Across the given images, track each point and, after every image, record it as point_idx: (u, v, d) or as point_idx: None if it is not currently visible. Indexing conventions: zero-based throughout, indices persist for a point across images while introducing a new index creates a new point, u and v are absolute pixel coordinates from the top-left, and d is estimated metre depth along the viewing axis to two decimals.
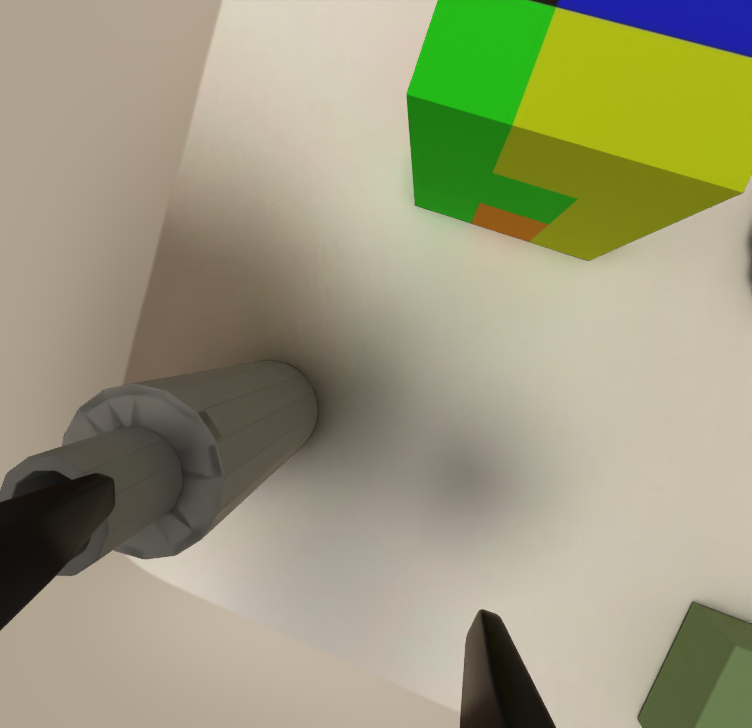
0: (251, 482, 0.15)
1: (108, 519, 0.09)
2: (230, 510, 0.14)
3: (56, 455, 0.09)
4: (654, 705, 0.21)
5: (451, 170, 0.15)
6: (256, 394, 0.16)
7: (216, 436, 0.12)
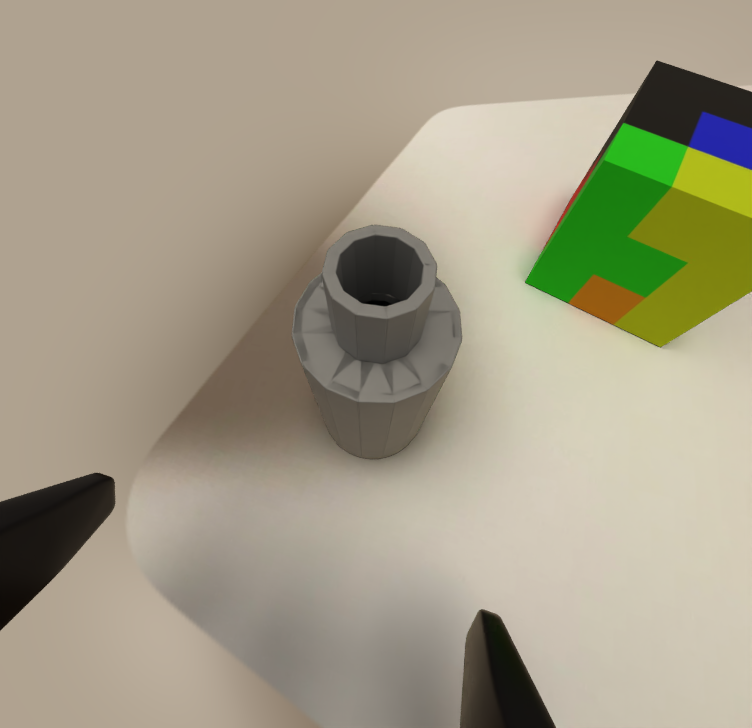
0: (440, 388, 0.15)
1: (435, 280, 0.10)
2: (426, 400, 0.14)
3: (399, 228, 0.11)
4: None
5: (591, 236, 0.22)
6: None
7: None
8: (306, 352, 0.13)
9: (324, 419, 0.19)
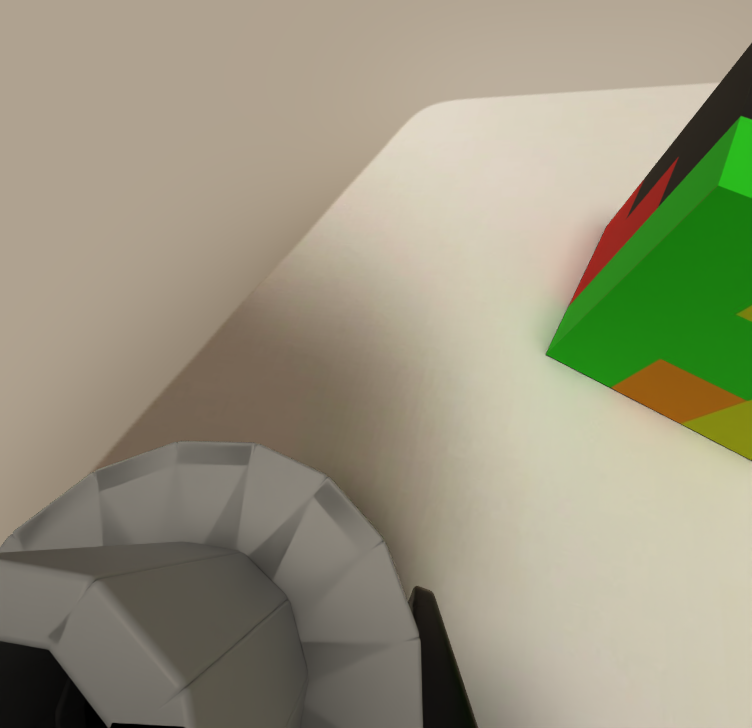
0: None
1: None
2: None
3: (89, 573, 0.02)
4: None
5: (666, 307, 0.13)
6: None
7: (411, 618, 0.05)
8: None
9: None
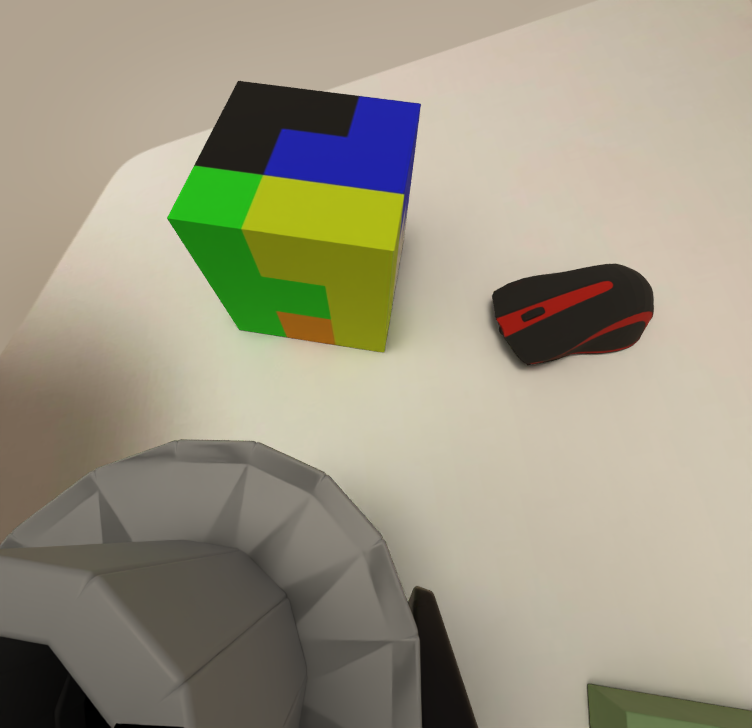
0: None
1: None
2: None
3: (88, 569, 0.02)
4: None
5: (237, 282, 0.20)
6: None
7: (410, 616, 0.05)
8: None
9: None
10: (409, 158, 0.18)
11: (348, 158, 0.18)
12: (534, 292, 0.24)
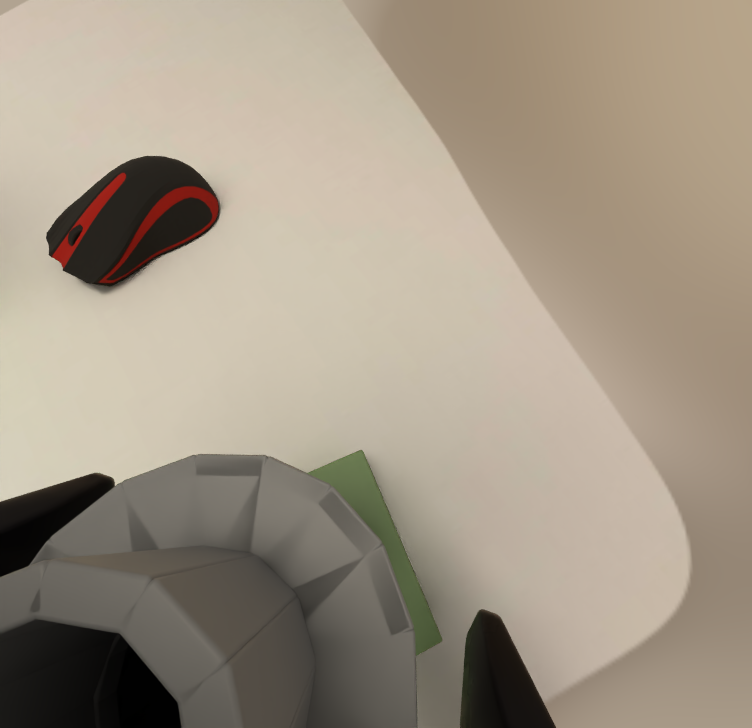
0: None
1: None
2: None
3: (147, 574, 0.03)
4: None
5: None
6: None
7: None
8: None
9: None
10: None
11: None
12: (72, 215, 0.23)
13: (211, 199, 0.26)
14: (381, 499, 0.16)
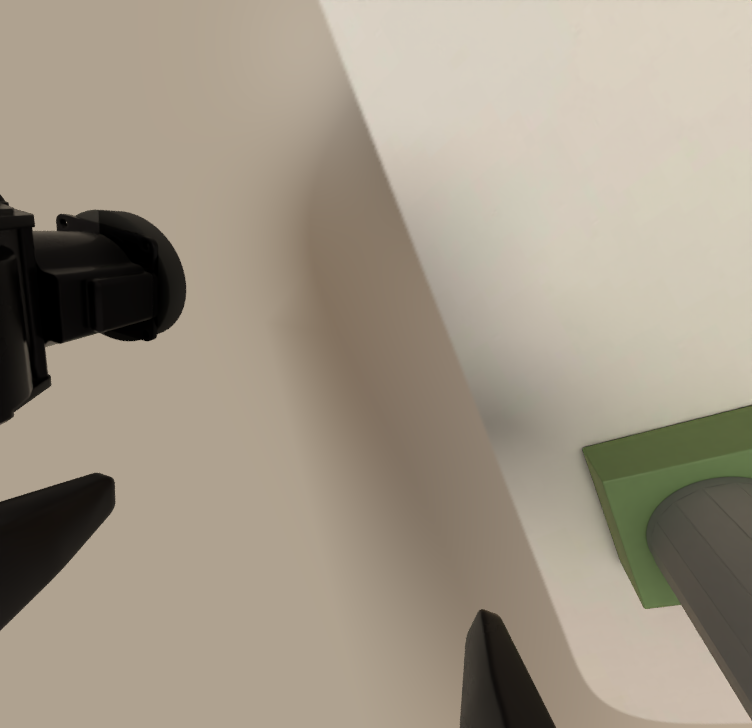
0: None
1: None
2: None
3: None
4: (620, 445, 0.19)
5: None
6: None
7: None
8: None
9: None
10: None
11: None
12: None
13: None
14: None
